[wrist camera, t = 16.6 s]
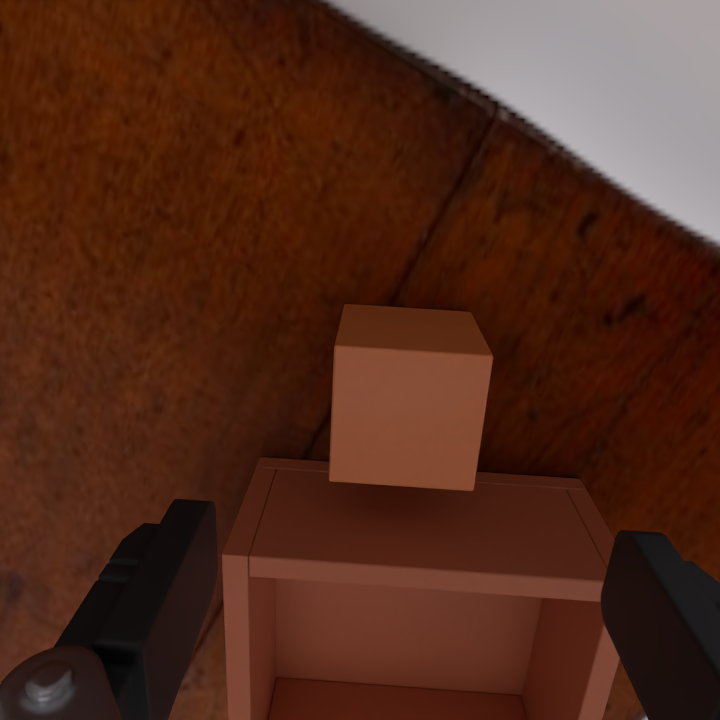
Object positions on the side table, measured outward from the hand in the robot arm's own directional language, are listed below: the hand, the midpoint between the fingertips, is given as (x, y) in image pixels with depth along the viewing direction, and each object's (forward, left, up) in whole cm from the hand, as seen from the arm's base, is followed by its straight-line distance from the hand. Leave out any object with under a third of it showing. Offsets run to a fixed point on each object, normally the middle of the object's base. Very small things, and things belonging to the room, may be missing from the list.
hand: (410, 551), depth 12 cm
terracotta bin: (-1, +10, -10) cm, 14 cm away
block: (0, 0, -10) cm, 10 cm away
